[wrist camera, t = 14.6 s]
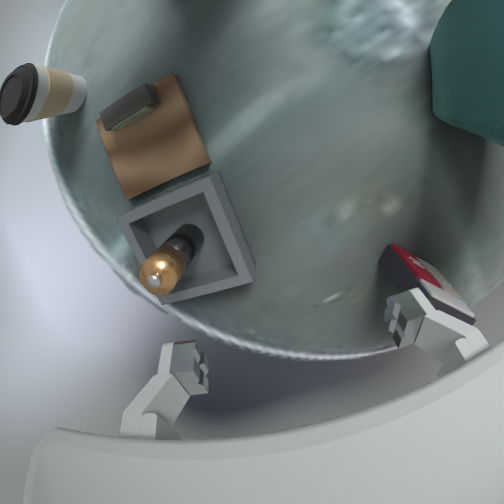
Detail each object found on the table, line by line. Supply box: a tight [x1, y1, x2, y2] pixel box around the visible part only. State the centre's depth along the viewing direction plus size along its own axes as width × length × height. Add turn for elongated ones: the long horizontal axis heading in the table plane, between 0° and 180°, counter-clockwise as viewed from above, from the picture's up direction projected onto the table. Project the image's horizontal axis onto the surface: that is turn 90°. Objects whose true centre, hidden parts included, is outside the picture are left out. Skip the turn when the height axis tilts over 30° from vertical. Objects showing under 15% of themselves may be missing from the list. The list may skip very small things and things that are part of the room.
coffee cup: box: [0, 63, 87, 125], centre depth 25 cm, size 9×9×15 cm
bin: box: [117, 171, 256, 305], centre depth 38 cm, size 15×15×5 cm
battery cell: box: [139, 224, 204, 295], centre depth 34 cm, size 4×4×13 cm
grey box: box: [379, 244, 476, 326], centre depth 32 cm, size 11×4×15 cm, turn 68°
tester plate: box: [96, 74, 211, 200], centre depth 33 cm, size 14×14×4 cm
